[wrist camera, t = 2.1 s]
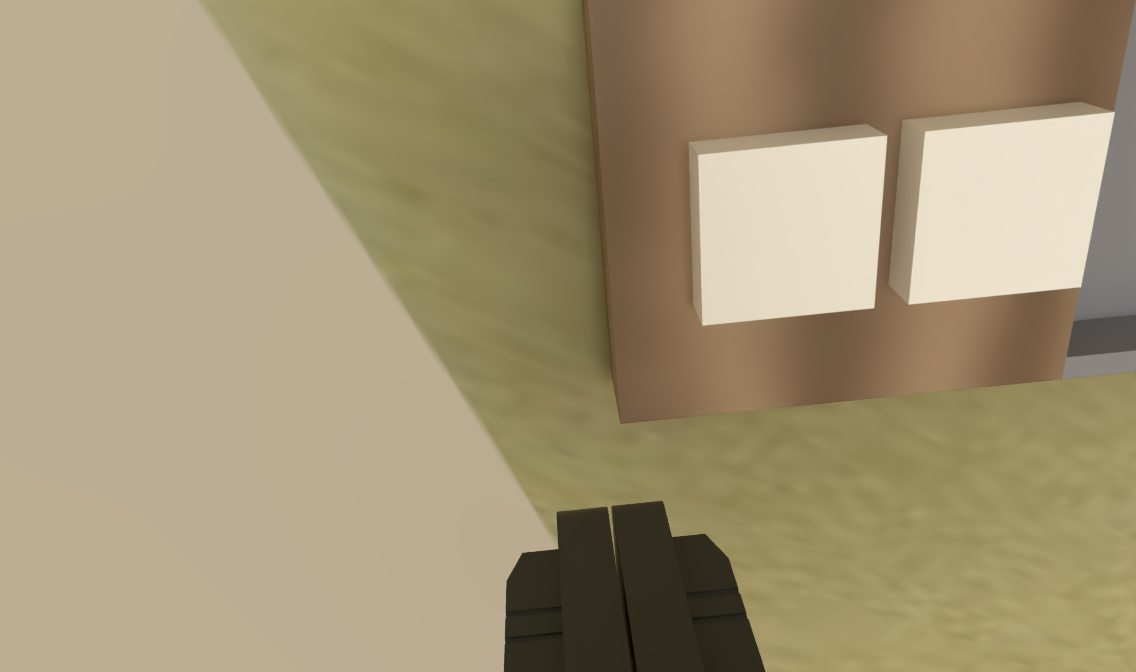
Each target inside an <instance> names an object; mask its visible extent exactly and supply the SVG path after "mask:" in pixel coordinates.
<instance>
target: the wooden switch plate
mask: <svg viewBox="0 0 1136 672" xmlns="http://www.w3.org/2000/svg"><path fill="white" fill-rule="evenodd" d="M582 4H583V17H584V29H585V42H586V54H587V67H588V79H589V92H590V104H591V117H592V129H593V142H594V154H595V167H596V179H597V192H598V204H599V217H600V229H601V242H602V254H603V267H604V279H605V292H606V304H607V317H608V329H609V342H610V354H611V367H612V379H613V385H614V390H615V396H616V401H617V407H618V412H619V418H620V423H621V424H624V423H634V422H644V421H654V420H663V419H673V418H683V417H693V416H703V415H713V414H723V413H733V412H742V411H752V410H762V409H772V408H782V407H792V406H802V405H812V404H822V403H831V402H841V401H851V400H861V399H871V398H881V397H891V396H901V395H910V394H920V393H930V392H940V391H950V390H960V389H970V388H980V387H989V386H999V385H1009V384H1019V383H1029V382H1039V381H1049V380H1059V379H1062V378H1063V372H1064V367H1065V362H1066V357H1067V352H1068V347H1069V341H1070V336H1071V331H1072V326H1073V321H1074V316H1075V310H1076V305H1077V300H1078V295H1079V290H1080V287H1078V288H1068V289H1058V290H1048V291H1038V292H1028V293H1019V294H1009V295H999V296H989V297H979V298H970V299H960V300H950V301H940V302H930V303H920V304H911V305H908V304H907V303H906V302H905V301H904V300H903V299H902V298H901V297H900V296H899V295H898V294H897V293H896V292H895V291H894V290H893V289H892V288H891V287H890V286H889V273H890V261H891V249H892V237H893V225H894V213H895V201H896V189H897V177H898V165H899V153H900V141H901V129H902V120H908V119H918V118H928V117H938V116H947V115H957V114H967V113H976V112H986V111H996V110H1006V109H1015V108H1025V107H1035V106H1045V105H1054V104H1064V103H1074V102H1083V103H1087V104H1090V105H1093V106H1096V107H1100V108H1103V109H1106V110H1110V111H1113V112H1114V109H1115V104H1116V98H1117V93H1118V88H1119V83H1120V78H1121V73H1122V67H1123V62H1124V57H1125V52H1126V47H1127V42H1128V36H1129V31H1130V26H1131V21H1132V16H1133V11H1134V5H1135V0H582ZM860 124H868V125H870V126H871V127H873V128H875V129H877V130H878V131H880V132H882V133H884V134H886V135H887V147H886V160H885V173H884V186H883V200H882V213H881V226H880V239H879V252H878V265H877V279H876V292H875V305H874V308H871V309H861V310H852V311H842V312H832V313H822V314H812V315H802V316H793V317H783V318H773V319H763V320H753V321H743V322H734V323H724V324H714V325H704V326H702V324H701V321H700V319H699V317H698V315H697V312H696V310H695V308H694V305H693V279H692V245H691V211H690V177H689V143H688V142H695V141H704V140H714V139H724V138H734V137H743V136H753V135H763V134H772V133H782V132H792V131H802V130H811V129H821V128H831V127H840V126H850V125H860Z"/></svg>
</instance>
